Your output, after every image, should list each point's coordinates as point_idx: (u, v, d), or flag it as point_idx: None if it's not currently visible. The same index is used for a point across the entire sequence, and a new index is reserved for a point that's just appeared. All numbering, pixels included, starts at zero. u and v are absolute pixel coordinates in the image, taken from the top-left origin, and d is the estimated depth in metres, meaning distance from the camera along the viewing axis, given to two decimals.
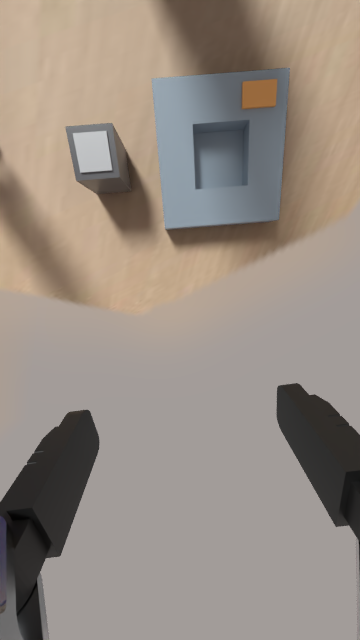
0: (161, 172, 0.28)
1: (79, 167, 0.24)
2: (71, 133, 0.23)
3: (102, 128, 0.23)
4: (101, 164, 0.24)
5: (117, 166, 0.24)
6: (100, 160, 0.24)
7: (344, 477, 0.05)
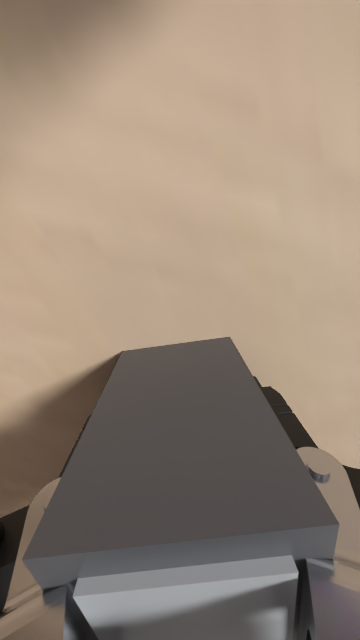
0: None
1: (105, 583, 0.04)
2: (296, 549, 0.03)
3: None
4: None
5: None
6: None
7: None
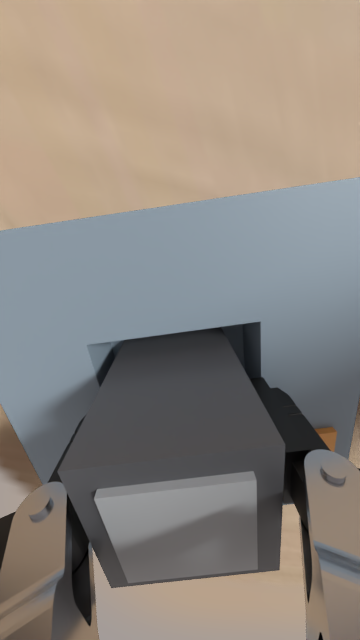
0: (115, 220, 0.07)
1: (117, 490, 0.05)
2: (256, 465, 0.05)
3: (265, 552, 0.06)
4: (142, 559, 0.06)
5: (146, 581, 0.06)
6: (156, 555, 0.06)
7: (285, 457, 0.06)
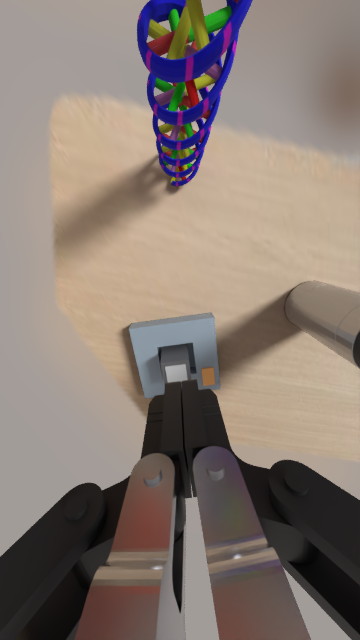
0: (164, 325, 0.40)
1: (167, 366, 0.38)
2: (185, 362, 0.38)
3: (189, 379, 0.39)
4: (170, 378, 0.38)
5: None
6: (172, 378, 0.38)
7: (186, 453, 0.07)
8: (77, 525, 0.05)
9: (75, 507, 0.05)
